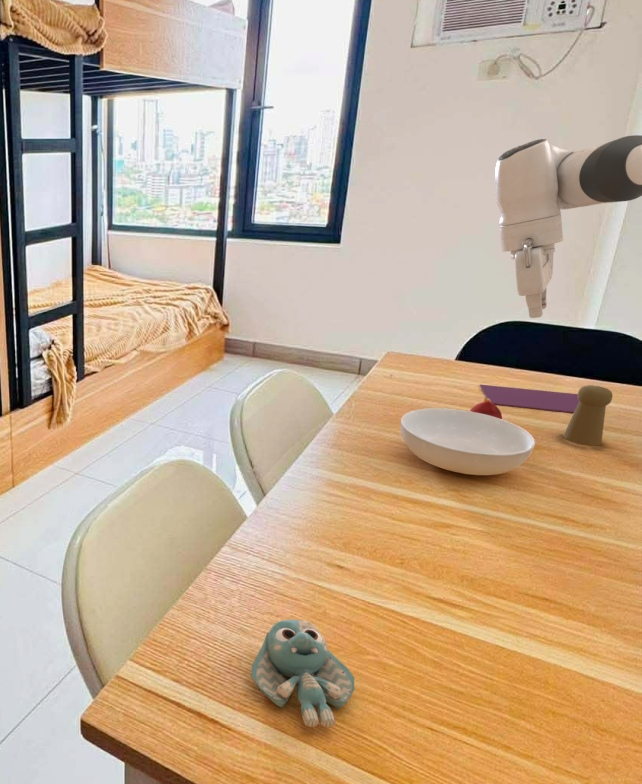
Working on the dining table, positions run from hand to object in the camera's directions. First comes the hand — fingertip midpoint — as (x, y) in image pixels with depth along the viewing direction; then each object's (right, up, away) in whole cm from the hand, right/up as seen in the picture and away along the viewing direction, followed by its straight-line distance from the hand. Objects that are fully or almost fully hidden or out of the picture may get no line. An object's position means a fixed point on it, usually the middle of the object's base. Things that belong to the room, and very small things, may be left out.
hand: (538, 312), depth 114 cm
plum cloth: (+24, -16, +32) cm, 43 cm away
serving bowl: (-13, -28, +2) cm, 31 cm away
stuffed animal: (-62, -47, -47) cm, 90 cm away
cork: (+17, -24, +11) cm, 32 cm away
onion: (-1, -23, +14) cm, 27 cm away
